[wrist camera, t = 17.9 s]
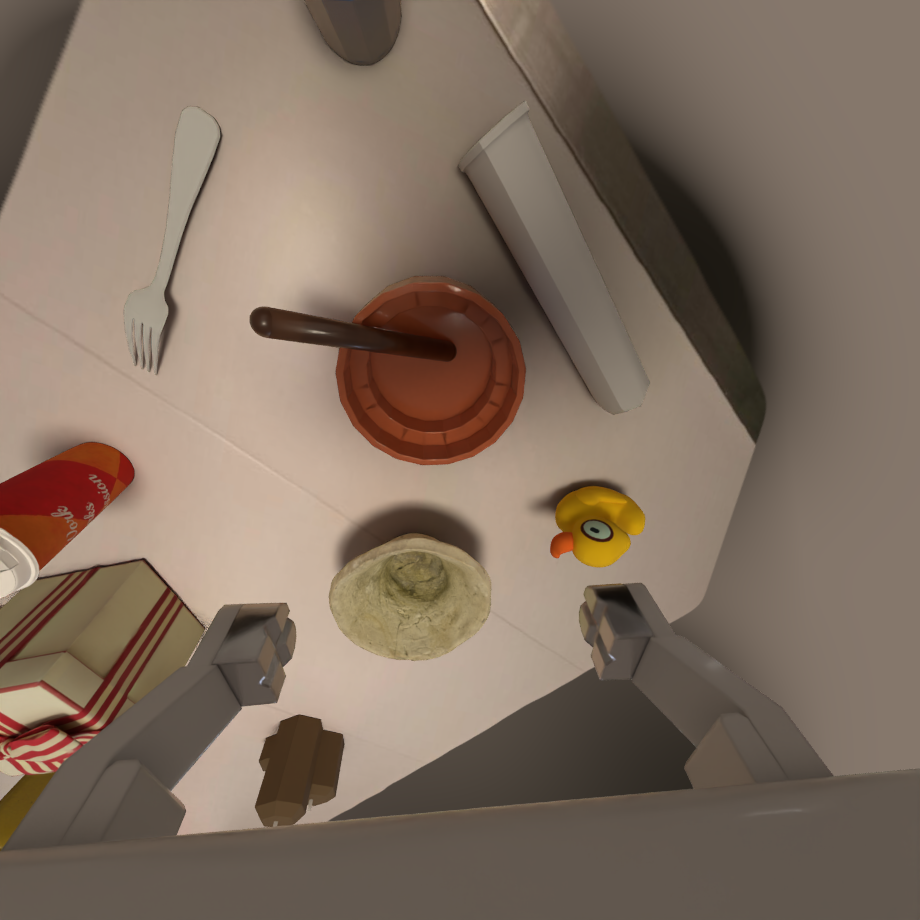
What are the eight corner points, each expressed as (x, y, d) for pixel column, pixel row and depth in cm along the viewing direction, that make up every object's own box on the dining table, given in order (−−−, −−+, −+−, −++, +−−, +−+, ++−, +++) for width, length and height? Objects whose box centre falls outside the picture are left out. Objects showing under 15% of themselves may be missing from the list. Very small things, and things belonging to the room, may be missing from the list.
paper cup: (127, 507, 41) (3, 618, 29) (47, 467, 38) (-129, 572, 26) (160, 463, 39) (40, 564, 27) (77, 416, 36) (-101, 506, 24)
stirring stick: (452, 338, 34) (247, 298, 22) (463, 349, 33) (257, 313, 21) (444, 355, 35) (243, 325, 23) (454, 366, 34) (252, 341, 22)
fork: (241, 139, 28) (225, 125, 26) (162, 377, 34) (144, 385, 32) (201, 112, 27) (180, 94, 25) (128, 362, 33) (106, 368, 31)
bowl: (395, 572, 55) (301, 603, 44) (462, 492, 47) (367, 506, 36) (445, 660, 49) (351, 723, 38) (531, 588, 41) (444, 641, 30)
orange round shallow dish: (517, 275, 32) (534, 282, 27) (505, 433, 40) (517, 462, 35) (337, 275, 31) (320, 282, 26) (361, 437, 39) (351, 467, 34)
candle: (258, 716, 65) (215, 835, 52) (338, 713, 66) (317, 828, 53) (272, 752, 72) (237, 865, 59) (345, 749, 73) (327, 858, 60)
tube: (670, 392, 34) (538, 86, 23) (628, 430, 34) (474, 142, 23) (628, 384, 39) (501, 127, 28) (591, 417, 39) (447, 174, 28)
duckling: (531, 520, 46) (554, 584, 38) (532, 484, 44) (557, 545, 35) (620, 511, 47) (664, 572, 38) (627, 475, 44) (676, 532, 35)
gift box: (129, 662, 55) (19, 819, 40) (22, 580, 45) (-174, 745, 31) (236, 637, 54) (163, 788, 39) (149, 547, 44) (8, 701, 29)
